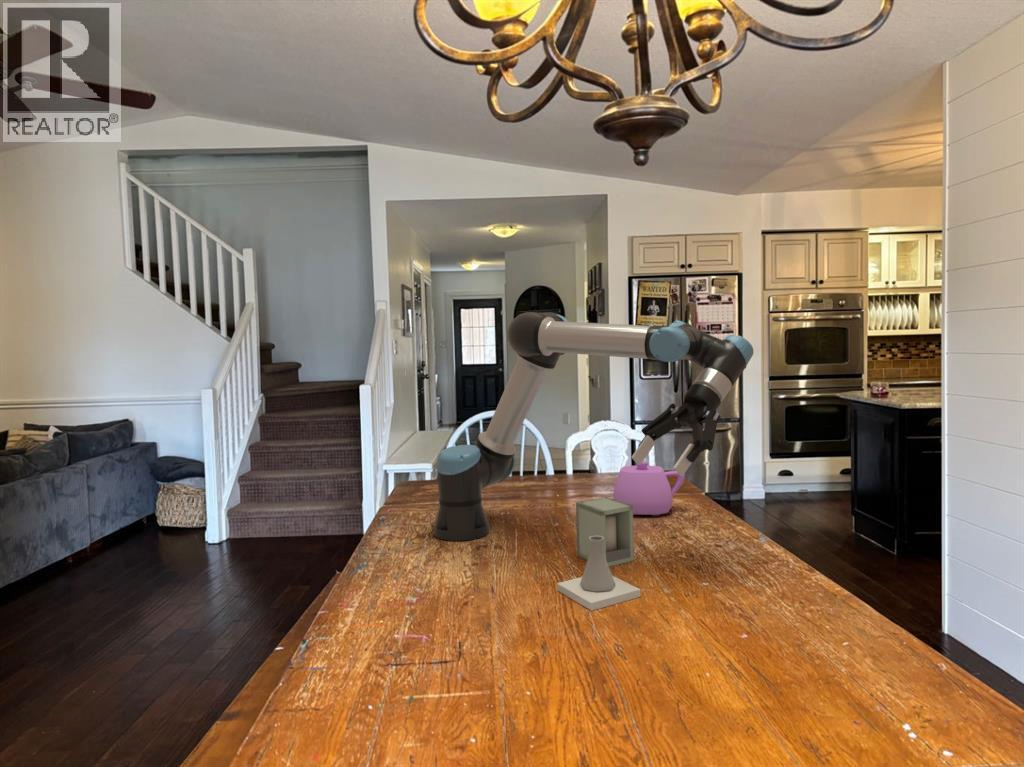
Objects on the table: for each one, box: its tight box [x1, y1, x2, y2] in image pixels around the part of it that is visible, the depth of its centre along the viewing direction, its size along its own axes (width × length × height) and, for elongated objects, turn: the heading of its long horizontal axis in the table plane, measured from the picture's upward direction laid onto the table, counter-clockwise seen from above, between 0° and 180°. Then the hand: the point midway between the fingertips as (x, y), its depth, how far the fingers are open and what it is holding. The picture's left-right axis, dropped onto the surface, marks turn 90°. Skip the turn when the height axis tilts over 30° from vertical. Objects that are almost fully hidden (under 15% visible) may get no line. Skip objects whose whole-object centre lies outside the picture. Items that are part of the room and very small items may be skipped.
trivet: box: [556, 575, 641, 611], centre depth 129 cm, size 12×12×2 cm
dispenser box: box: [575, 496, 635, 568], centre depth 149 cm, size 10×9×13 cm
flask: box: [580, 535, 615, 591], centre depth 128 cm, size 7×7×10 cm
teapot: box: [612, 459, 686, 517], centre depth 191 cm, size 23×21×15 cm
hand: (655, 466), depth 137 cm, fingers open, 13 cm apart
